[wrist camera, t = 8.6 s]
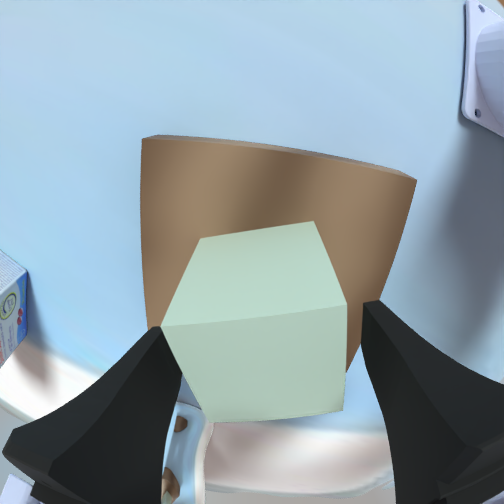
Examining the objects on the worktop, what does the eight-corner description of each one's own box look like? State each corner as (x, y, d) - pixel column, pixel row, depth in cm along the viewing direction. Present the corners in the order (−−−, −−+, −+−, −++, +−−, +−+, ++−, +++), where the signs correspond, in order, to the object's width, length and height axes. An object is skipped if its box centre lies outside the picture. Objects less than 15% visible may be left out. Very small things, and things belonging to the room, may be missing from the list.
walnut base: (399, 170, 13) (417, 180, 12) (340, 351, 19) (346, 372, 17) (157, 134, 13) (141, 138, 11) (159, 330, 18) (150, 351, 17)
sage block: (313, 221, 13) (347, 304, 7) (321, 313, 15) (342, 410, 9) (200, 238, 13) (160, 326, 8) (225, 325, 15) (209, 422, 10)
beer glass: (130, 408, 23) (87, 546, 10) (174, 387, 21) (131, 565, 8) (186, 441, 25) (163, 568, 12) (235, 425, 23) (221, 579, 10)
